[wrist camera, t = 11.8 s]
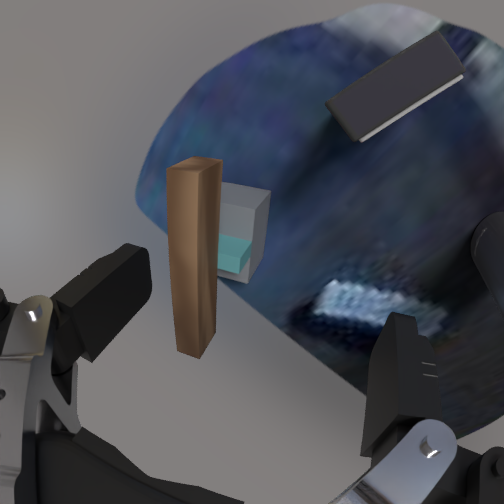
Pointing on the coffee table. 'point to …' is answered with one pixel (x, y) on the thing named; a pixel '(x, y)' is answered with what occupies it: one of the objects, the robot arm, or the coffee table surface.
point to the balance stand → (241, 230)
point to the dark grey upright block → (396, 87)
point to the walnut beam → (194, 249)
